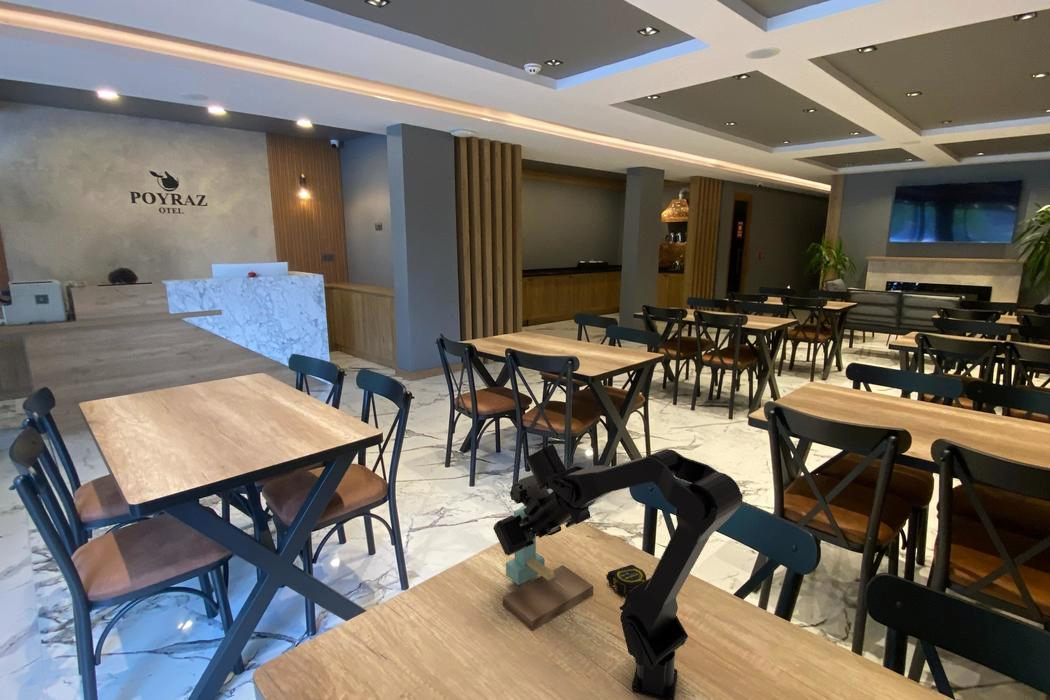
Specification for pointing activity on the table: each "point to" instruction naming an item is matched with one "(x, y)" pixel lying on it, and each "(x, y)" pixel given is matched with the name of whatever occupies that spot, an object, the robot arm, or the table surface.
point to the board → (547, 597)
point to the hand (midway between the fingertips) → (520, 537)
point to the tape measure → (626, 578)
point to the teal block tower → (527, 561)
